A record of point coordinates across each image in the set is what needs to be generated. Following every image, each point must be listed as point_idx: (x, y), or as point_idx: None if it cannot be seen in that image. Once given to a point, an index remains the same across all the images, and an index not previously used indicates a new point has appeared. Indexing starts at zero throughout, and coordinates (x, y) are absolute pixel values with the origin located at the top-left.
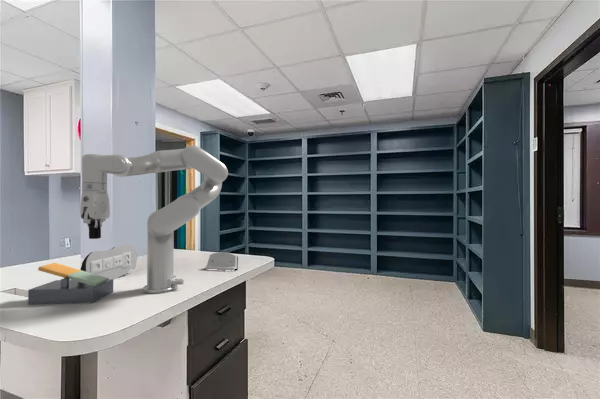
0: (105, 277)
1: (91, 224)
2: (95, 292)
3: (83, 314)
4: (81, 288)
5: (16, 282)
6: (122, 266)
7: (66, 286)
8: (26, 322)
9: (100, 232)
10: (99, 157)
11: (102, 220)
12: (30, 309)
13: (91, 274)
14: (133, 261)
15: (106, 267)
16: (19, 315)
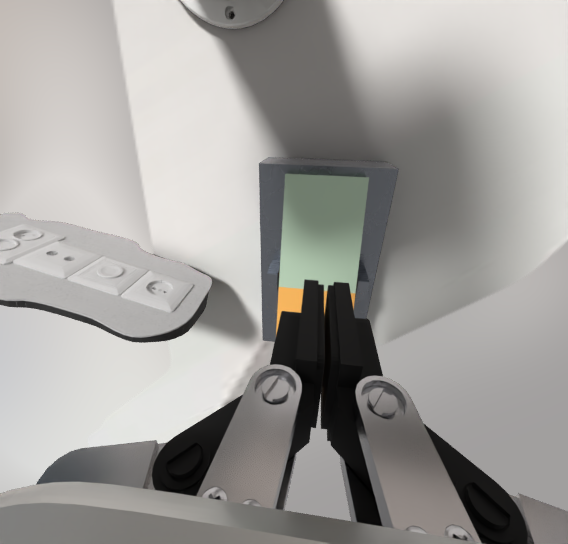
0: (286, 183)
1: (468, 467)
2: (378, 165)
3: (512, 122)
4: (386, 214)
5: (186, 421)
6: (59, 239)
7: (365, 269)
8: (512, 251)
9: (309, 311)
10: None
11: (158, 476)
12: (397, 299)
13: (293, 239)
14: None
15: (125, 268)
16: (441, 297)
